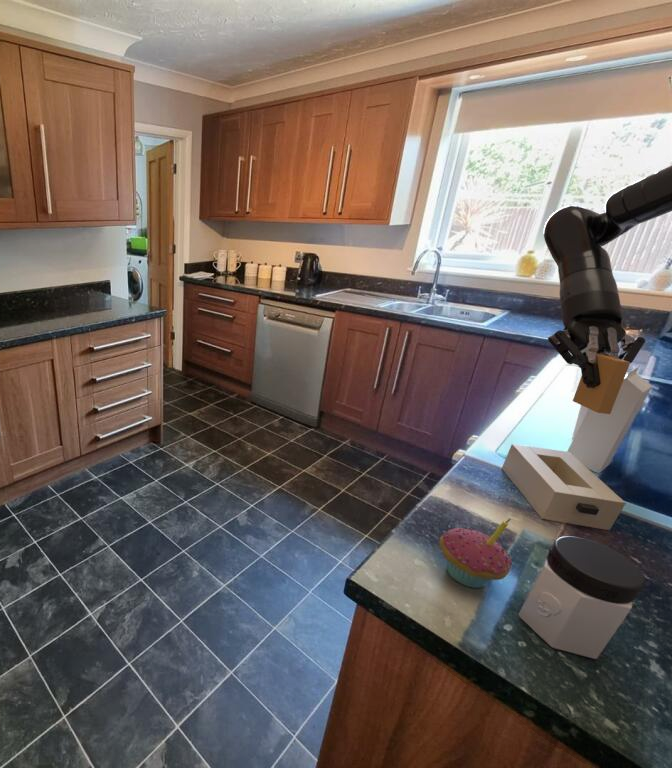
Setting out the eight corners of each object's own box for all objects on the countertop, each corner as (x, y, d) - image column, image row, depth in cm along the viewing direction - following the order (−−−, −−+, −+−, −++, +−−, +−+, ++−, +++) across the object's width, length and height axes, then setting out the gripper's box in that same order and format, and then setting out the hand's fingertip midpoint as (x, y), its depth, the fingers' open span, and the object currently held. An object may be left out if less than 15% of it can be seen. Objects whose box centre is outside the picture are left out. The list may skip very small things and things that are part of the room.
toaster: (501, 468, 89) (511, 443, 87) (557, 476, 87) (569, 451, 84) (545, 523, 74) (559, 496, 72) (614, 535, 72) (631, 507, 69)
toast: (584, 402, 77) (602, 354, 74) (610, 414, 71) (630, 362, 68) (572, 401, 77) (589, 352, 74) (597, 412, 71) (617, 360, 68)
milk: (562, 459, 93) (607, 366, 84) (573, 451, 96) (618, 360, 86) (599, 474, 88) (651, 376, 79) (609, 465, 91) (660, 370, 82)
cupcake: (498, 569, 64) (528, 507, 60) (501, 610, 58) (534, 545, 53) (433, 545, 69) (456, 485, 64) (429, 580, 62) (454, 517, 57)
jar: (501, 602, 59) (533, 537, 54) (548, 593, 61) (584, 529, 56) (568, 666, 51) (614, 597, 46) (621, 654, 53) (670, 585, 48)
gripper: (558, 285, 76) (570, 373, 70) (653, 291, 73) (673, 384, 67) (532, 308, 83) (540, 389, 77) (617, 314, 79) (633, 400, 74)
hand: (602, 387), depth 72 cm, fingers closed on toast, 2 cm apart
